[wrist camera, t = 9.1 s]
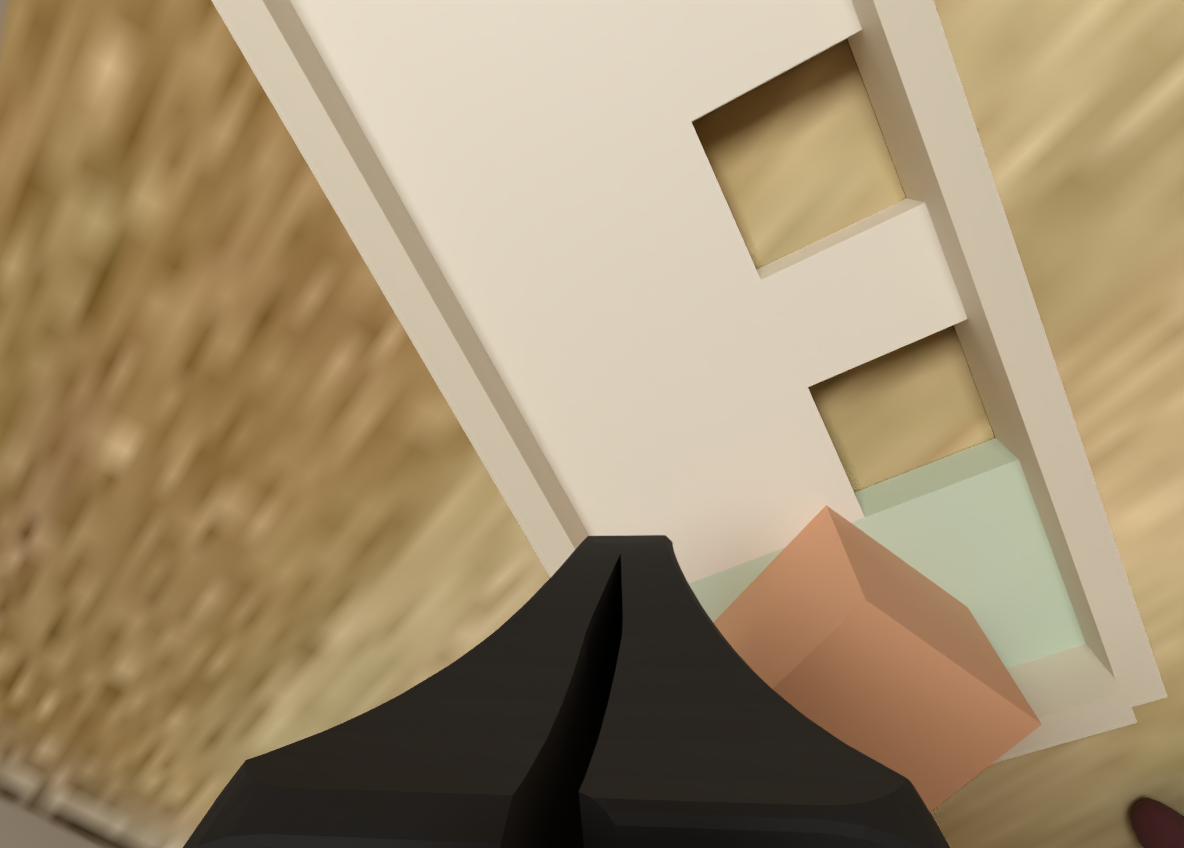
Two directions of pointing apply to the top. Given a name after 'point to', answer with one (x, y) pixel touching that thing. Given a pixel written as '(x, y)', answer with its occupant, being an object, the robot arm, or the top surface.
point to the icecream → (1157, 825)
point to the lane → (706, 300)
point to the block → (879, 658)
